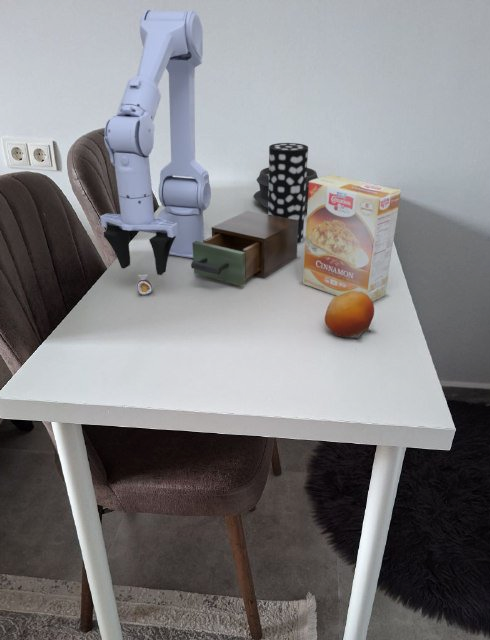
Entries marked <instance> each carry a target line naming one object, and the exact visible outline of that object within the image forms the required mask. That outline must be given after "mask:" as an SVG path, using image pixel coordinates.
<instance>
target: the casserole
mask: <svg viewBox="0 0 490 640" xmlns="http://www.w3.org/2000/svg"><path fill="white" fill-rule="evenodd" d="M316 178H319V177H318V173H317V171H316V170H315V169H312V168H309V167H307V177H306V194H305V211H307V206H308V190H309V181H311V180H313V179H316ZM256 182H257V183H258V185H259V190H258V191H256V192H255V193H254V194H253V199H254V200H255V201H257V202H258V203H260V204H261V205H262V206H263V207H264V208H265V209H268V183H269V166H268V167H265V168H263V169H261V170H260V172H259V175H258V177H257V178H256Z"/></svg>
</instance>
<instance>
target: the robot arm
mask: <svg viewBox="0 0 490 640" xmlns="http://www.w3.org/2000/svg"><path fill="white" fill-rule="evenodd" d="M139 21H140V22H139V34H140V39H141V45H142V47H143V48H142V52H141V56H140V60H139V65H138V69H137V73H136V76H134V77H131V78H129V80H127V83H126V86H125V89H124V91H123V95H122V98H121V101H120V103H119V106H118V110H117V113H116V115H113V116H112V117H111V118H109V119H108V120H107V121H106V123H105V126H104V137H103V140H104V146H105V148H106V150H107V152H108V154H109V159H110V163H111V165H112V166H113V167H114V171H115V180H116V187H117V188H116V189H117V195H118V196H117V197H118V203H119V211H120V213H105V214H101V215H100V216H99V220H100V224H101V225H100V226H101V227H102V228H106V230H105V231H103V237H104V238H105V239H106V241H107V242H108V243H109V245H110V247H111V249H112V250H113V252H114V253H115V257H116V258H117V261H118V263H119V266H120V268H121V269H123V270H124V269H127V268H128V267H129V266H131V253H130V231H135V232H141V233H142V232H143V233H148V234H155V235H154V236H152V237H150V238H149V239H148V240H149V243H150V246H151V248H152V252H153V256H154V262H155V263H154V264H155V272H156V275H158V276H162V275H163V274H164V273H166V272H167V265H168V260H169V256H170V255H171V256H175V257H182V258H188V259H193V245H192V243H193V242H195V241H199V242H203V240H205V228H204V211H206V210H207V208H209V206H210V204H211V198H212V190H211V184H210V173H209V171H208V170H207V169H206V168H205V167H204V166H202V165H201V164H200V163H199V162H198V161H197V160H196V100H195V98H196V97H195V94H196V93H195V92H196V91H195V89H196V88H195V87H196V86H195V79H196V78H195V77H196V67H197V68H198V67H199V66H200V65H202V64H203V55H204V54H203V52H204V51H203V49H204V48H203V47H204V46H203V42H204V41H203V38H204V37H203V34H204V32H203V26H202V23H201V18H200V16H199V15H198V13H197V12H196V10H194V9H192V10H151V9H145V10H144V11H143V13H142V15H141V16H140V20H139ZM165 70H166V71H167V74H168V95H169V97H168V98H169V100H168V101H169V129H170V130H169V131H170V134H169V136H170V162H169V163H168V164H166V165H165V166H164V167H163V168H162V169H161V170H160V173H159V184H158V200H159V202H160V204H161V205H162V207H163V208H162V209H161V210H160V212H159V214H158V217H155V209H154V199H153V197H154V196H153V187H152V177H151V175H152V174H151V165H150V164H151V163H150V155H151V153H152V151H153V149H154V139H155V137H154V135H155V127H156V126H155V123H154V120H155V117H156V115H157V111H158V108H159V104H160V101H161V98H162V94H161V91H160V89H159V87H158V86H159V83H160V81H161V79H162V77H163V75H164V72H165Z"/></svg>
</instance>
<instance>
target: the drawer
mask: <svg viewBox="0 0 490 640" xmlns="http://www.w3.org/2000/svg"><path fill="white" fill-rule="evenodd" d="M261 243H262V242H259V241H254V240H250V239H245V238H241V237H236V236H232V235H227V234H223V233H218V234H216V235H214V236H212V235H211V236H210V237H208V238H206V239H205V238H204V240H203V242H199V241H195V242H193V243H192V245H193V258H192V260H193V261H192V262H191V263H190V267H191V269H193V274H196V275H199V276H203V277H207V278H210V279H213V280H218V281H222V282H224V283H225V282H226V283H230V284H233V285H236V286H241V287H242V286H244V285H246V280H248V279H249V278H251V277H253V276H252V275H254V274H255V273H257V272H259V271H260V270H261Z"/></svg>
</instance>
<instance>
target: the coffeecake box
mask: <svg viewBox="0 0 490 640" xmlns="http://www.w3.org/2000/svg"><path fill="white" fill-rule="evenodd" d="M401 192H402V189H397V188H391V187H388V186H383V185H378V184H374V183H369V182H365V181H361V180H356V179H351V178H347V177H343V176H339V175H334V174H330V175H326V176H322V177H318V178H316V179H313V180H311V181H309V190H308V206H307V209H306V225H305V239H304V241H305V242H304V255H303V256H304V258H303V271H302V272H303V274H302V285H305V286H308V287H310V288H314V289H317V290H319V291H322V292H325V293H327V294H331V295H333V296H335V297H336V296H340V295H342V294H344V293H346V292H349V291H357V292H363V293H365V294H367V295H368V296H369V298H370V299H371V300H372V302H373V303H374V302H375V301H378V300H379V299H382V298H383V297H385V296H386V292H387V286H388V280H389V273H390V267H391V260H392V254H393V253H392V252H393V247H394V240H395V233H396V227H397V221H398V213H399V206H400V200H401Z"/></svg>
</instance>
